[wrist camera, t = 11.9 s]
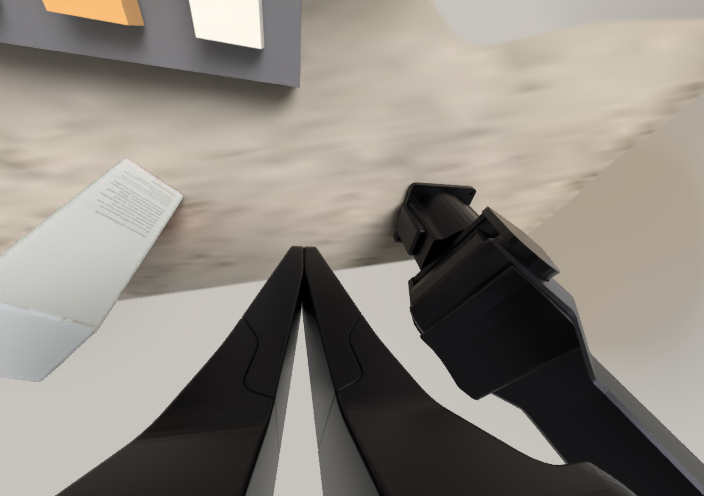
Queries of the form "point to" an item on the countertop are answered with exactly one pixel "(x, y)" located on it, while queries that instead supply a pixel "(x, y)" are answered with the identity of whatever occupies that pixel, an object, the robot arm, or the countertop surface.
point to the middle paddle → (99, 10)
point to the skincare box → (77, 268)
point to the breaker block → (163, 39)
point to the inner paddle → (229, 21)
